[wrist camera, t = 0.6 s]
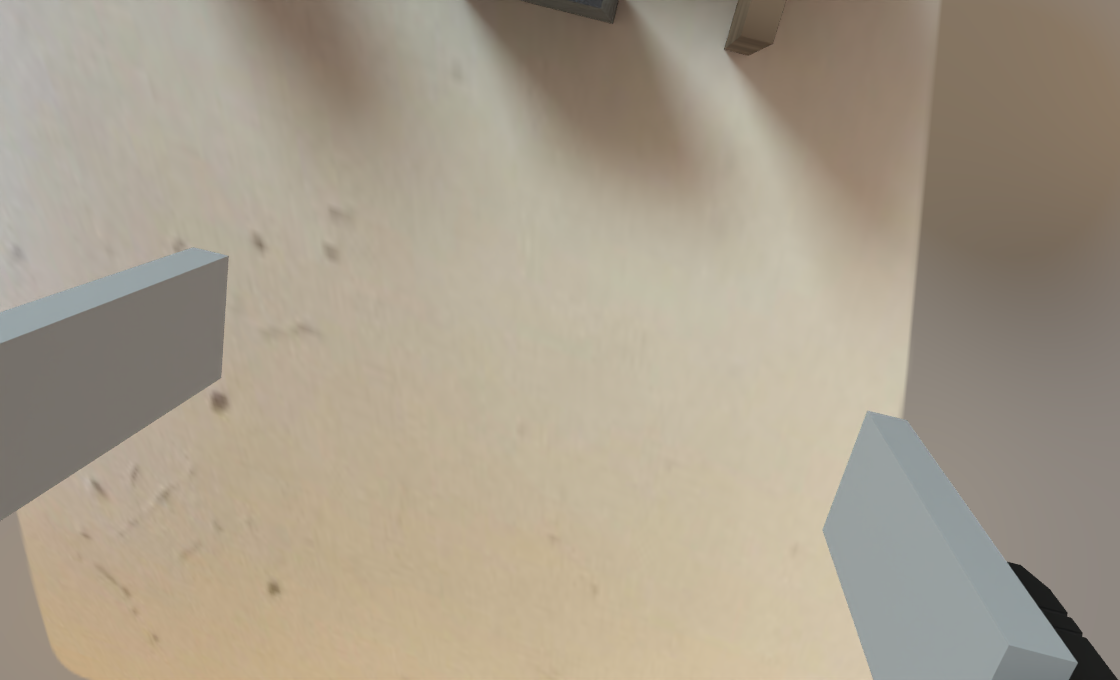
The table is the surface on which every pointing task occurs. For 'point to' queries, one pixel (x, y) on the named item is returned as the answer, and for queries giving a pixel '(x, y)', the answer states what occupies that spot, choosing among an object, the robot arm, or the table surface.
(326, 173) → the table surface
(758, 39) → the wooden corner wall
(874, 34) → the table surface
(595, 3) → the dark rectangular block
